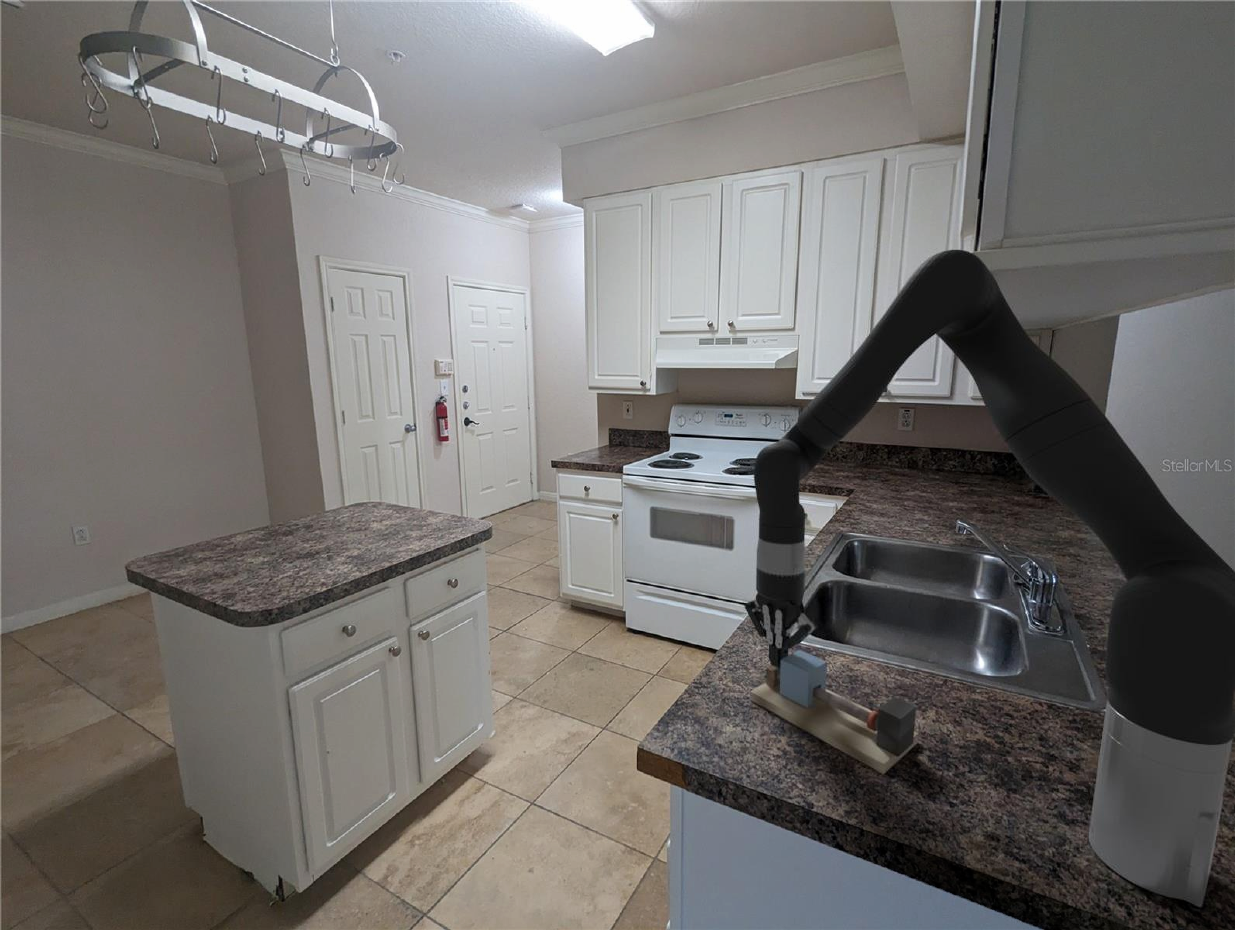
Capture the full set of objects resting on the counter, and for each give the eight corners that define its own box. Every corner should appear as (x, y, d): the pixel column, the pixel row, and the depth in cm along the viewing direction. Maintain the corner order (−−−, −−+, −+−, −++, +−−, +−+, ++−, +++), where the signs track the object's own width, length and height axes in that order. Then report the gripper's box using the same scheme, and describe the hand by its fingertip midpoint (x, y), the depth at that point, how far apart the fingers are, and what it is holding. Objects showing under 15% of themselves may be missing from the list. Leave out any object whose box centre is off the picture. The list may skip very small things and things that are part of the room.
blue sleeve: (825, 695, 87) (827, 661, 86) (807, 707, 84) (808, 672, 83) (798, 682, 91) (799, 649, 90) (779, 693, 88) (780, 659, 87)
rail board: (921, 744, 78) (925, 698, 77) (887, 776, 72) (890, 727, 71) (786, 678, 96) (788, 640, 95) (750, 699, 90) (751, 659, 89)
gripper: (831, 570, 85) (827, 673, 88) (761, 550, 96) (759, 643, 98) (803, 582, 81) (799, 691, 83) (733, 560, 91) (731, 657, 94)
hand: (777, 665), depth 91 cm, fingers closed
